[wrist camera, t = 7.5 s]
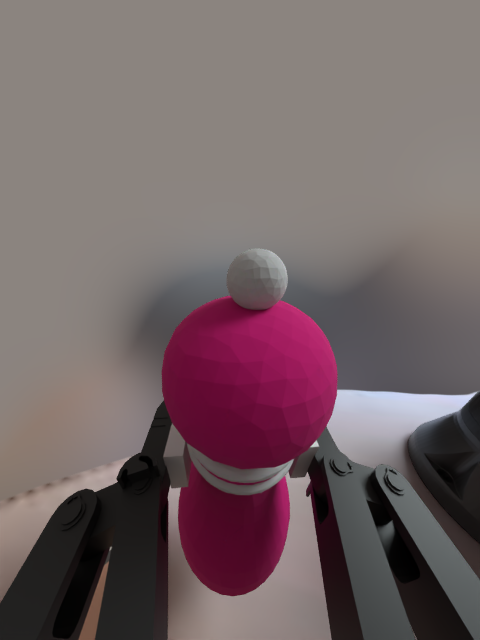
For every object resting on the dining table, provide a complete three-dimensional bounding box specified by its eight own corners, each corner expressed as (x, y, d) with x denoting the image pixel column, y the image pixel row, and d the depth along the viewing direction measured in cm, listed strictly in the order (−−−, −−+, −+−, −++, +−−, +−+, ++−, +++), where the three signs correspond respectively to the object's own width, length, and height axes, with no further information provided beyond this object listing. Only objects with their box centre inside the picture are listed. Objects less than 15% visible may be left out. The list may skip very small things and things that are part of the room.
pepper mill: (162, 565, 12) (-25, 242, 3) (212, 452, 18) (207, 237, 9) (267, 642, 10) (940, 390, 1) (283, 485, 16) (372, 251, 7)
